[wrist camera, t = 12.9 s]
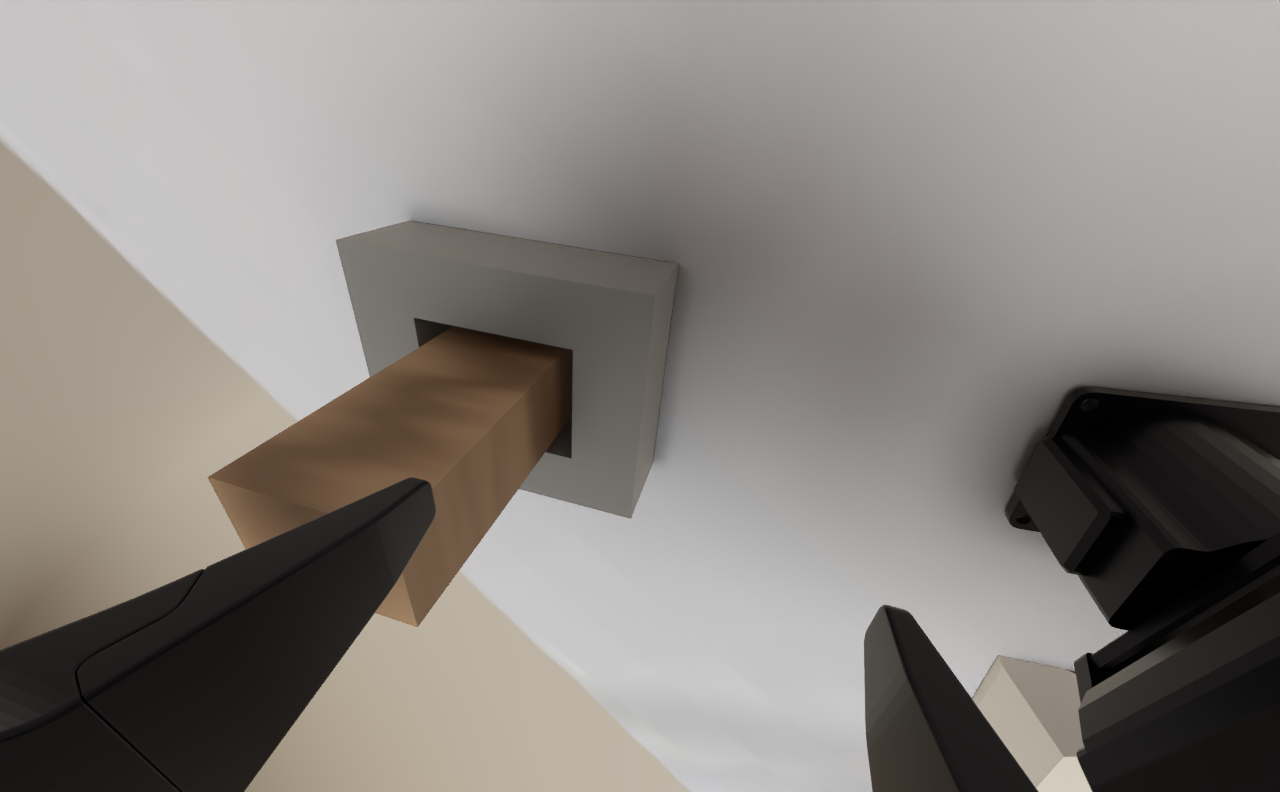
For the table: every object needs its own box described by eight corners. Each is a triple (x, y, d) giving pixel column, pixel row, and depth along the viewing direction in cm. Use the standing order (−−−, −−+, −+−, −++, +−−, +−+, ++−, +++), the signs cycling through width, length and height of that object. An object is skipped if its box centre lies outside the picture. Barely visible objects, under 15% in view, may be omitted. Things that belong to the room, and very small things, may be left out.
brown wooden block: (591, 324, 21) (390, 532, 10) (589, 392, 22) (417, 627, 12) (488, 304, 21) (208, 477, 11) (494, 371, 23) (258, 573, 13)
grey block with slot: (678, 263, 18) (654, 295, 15) (652, 462, 23) (630, 518, 20) (409, 220, 20) (335, 240, 17) (441, 411, 26) (389, 454, 22)
